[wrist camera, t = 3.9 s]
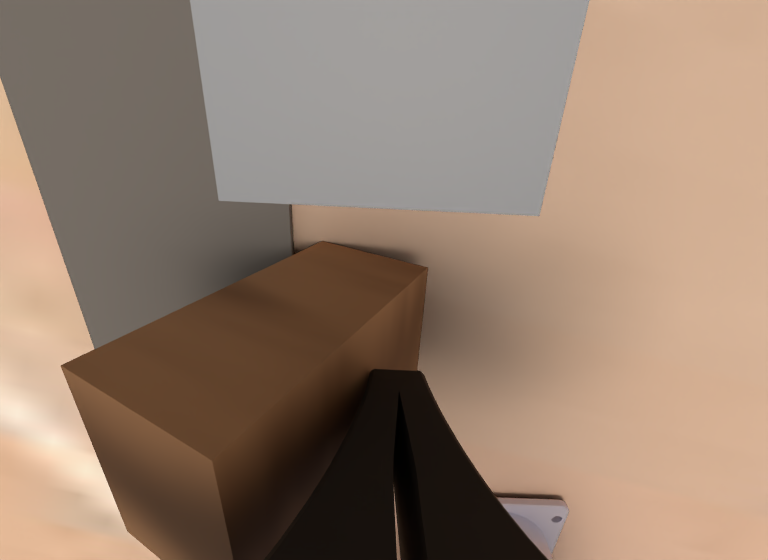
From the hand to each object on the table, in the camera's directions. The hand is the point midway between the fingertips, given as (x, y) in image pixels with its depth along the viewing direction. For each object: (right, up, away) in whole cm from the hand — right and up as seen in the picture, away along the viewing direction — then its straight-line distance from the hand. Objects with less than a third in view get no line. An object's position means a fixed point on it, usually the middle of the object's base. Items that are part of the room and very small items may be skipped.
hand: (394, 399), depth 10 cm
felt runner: (-7, +6, +2) cm, 10 cm away
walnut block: (-1, +2, +4) cm, 4 cm away
